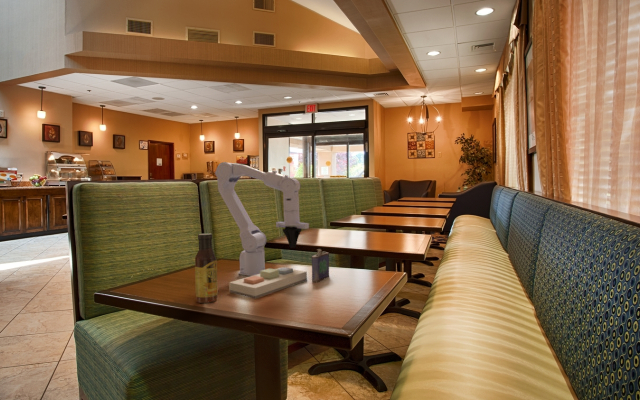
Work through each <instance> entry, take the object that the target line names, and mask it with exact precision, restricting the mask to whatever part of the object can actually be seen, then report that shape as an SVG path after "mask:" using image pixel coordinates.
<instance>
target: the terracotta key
mask: <svg viewBox="0 0 640 400" xmlns="http://www.w3.org/2000/svg"><path fill="white" fill-rule="evenodd" d="M247 277H248V278H246V277H244V278H245V279H244V283H248V284H253V285H254V284H257V283H260V282H263V281H264V278H263V277H258V276H252V277H250V276H247Z"/></svg>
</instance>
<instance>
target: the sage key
mask: <svg viewBox="0 0 640 400" xmlns="http://www.w3.org/2000/svg"><path fill="white" fill-rule="evenodd" d="M276 269H277V268H269V267H268V268H265V270H262V271H260V277H263V278H264V279H273V278H276V277H279V270H276Z"/></svg>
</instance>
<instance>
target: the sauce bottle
mask: <svg viewBox="0 0 640 400" xmlns="http://www.w3.org/2000/svg"><path fill="white" fill-rule="evenodd" d="M197 239H198V251H197V253H196V255H195V257H194V263H195V264H194V265H195V266H194V278H195V279H194V280H195V281H194V282H195V288H194V289H195V297H196V302H197V303H199V304H208V303H213V302H215V301H217V299H218V288H219V287H218V260H217V257H216V254H215V252H214V249H213V234H212V233H199V234H197Z"/></svg>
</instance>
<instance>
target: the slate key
mask: <svg viewBox="0 0 640 400" xmlns="http://www.w3.org/2000/svg"><path fill="white" fill-rule="evenodd" d="M279 268H280V269H278V268H275V269H276V270H279V274H282V275H286V274H289V273H292V272H293V269H294V268H289V267H283V266H282V268H281V267H279Z"/></svg>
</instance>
